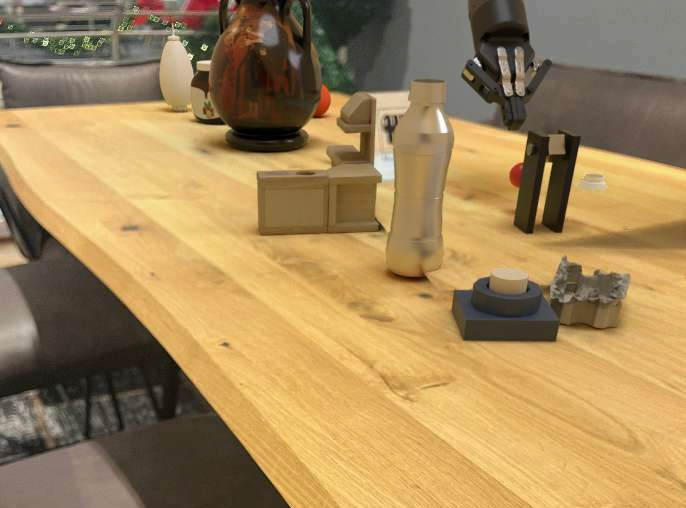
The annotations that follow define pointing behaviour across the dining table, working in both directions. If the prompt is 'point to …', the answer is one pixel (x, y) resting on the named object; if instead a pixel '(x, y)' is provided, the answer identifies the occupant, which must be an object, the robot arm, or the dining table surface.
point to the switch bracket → (556, 187)
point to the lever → (553, 155)
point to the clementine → (323, 102)
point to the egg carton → (587, 295)
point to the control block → (504, 314)
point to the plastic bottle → (420, 181)
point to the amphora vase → (265, 75)
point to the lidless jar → (592, 182)
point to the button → (508, 281)
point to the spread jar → (203, 96)
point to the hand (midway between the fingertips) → (516, 126)
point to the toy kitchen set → (327, 184)
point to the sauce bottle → (175, 74)
